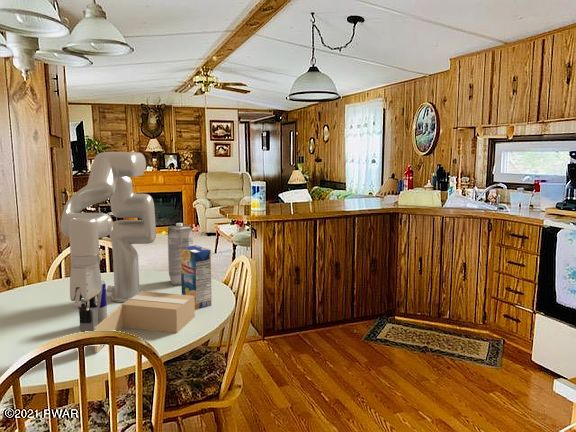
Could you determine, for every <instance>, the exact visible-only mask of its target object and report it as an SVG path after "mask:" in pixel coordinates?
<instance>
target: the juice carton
mask: <svg viewBox="0 0 576 432" xmlns="http://www.w3.org/2000/svg"><path fill="white" fill-rule="evenodd" d="M193 239H194V238H193V229H192V227H191V226H190V225H189V224H186V225H183V222H177V223H175V225H169V226H168V228H167V259H168V263H167V264H168V265H167V266H168V275H169V279H170V282H171V285H172V286H177V285H181V248H182V247H188V246H194V240H193Z"/></svg>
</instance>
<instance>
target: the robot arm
mask: <svg viewBox="0 0 576 432" xmlns="http://www.w3.org/2000/svg"><path fill="white" fill-rule="evenodd" d="M146 169H147V160H146V157H145V155H144V154H143V153H141V152H137V151H136V152H135V151H130V152H129V151H104V152H99V153H97V154H96V155H95V156H94V158H93V161H92V166H91V169H90V173H89V177H88V179H87V185H85V186H83V187H82V188H79V190H78V191H76V192H75V193H74V194H73V195H71V197H70V198H69V199H68V200H67V201H66V202H65V206H64V208H63V212H62V214H61V219H60V230H61V233H62V234H63V236H65V237H67V238H69V249H70V262H71V263H70V264H71V265H70V266H71V268H70V277H69V300H70V301H71V302H73V306H74V307H76V308H77V310H78V314H79V316H80V318H79V324H80V323H91V322H92V320H91V310H89V307H93V308H97V303H98V301H97V298H98V294H99V292H100V291H101V280H102V277H101V276H102V275H101V270H100V269H101V268H100V264H101V259H100V258H101V257H100V241H99V239H101V238H102V239H103V238H106V237H107V236H109V238H110V243H111V249H112V261H113V263H112V268H113V285H110V284H109V285H107V287H106V292H108V293H109V292H110V293H111V294H110V300H111V301H113V302H116V303H124V302H126V301H128V300H130V298H132V297H134V296H135V295H138V294H140V293H141V292H143V291H142V290H141V289H140V267H139V265H140V264H139V254H138V251H137V249H136V248H135V247H134V246H133V245H148V244H153V243H154V242H155V240H156V237H157V229H156V228H157V227H156V225H157V224H156V214H155V213H156V212H155V203H154V199H153V197H152V196H151V195H150V194H148V193H135V192H134V187H133V180H132V178H137V177H140V176H143V175H144V173H145V171H146ZM107 200H109V201H110V209H111V213H112V216H113V217H115V218H120V220H115V221H113V219H112V217H111V216H110V215H109V214H108V213H104V212H82V210H84V209H86V208H89V207H90V206H91V207H92V206H93V205H95V204H99V203H102V202H104V201H107ZM121 218H122V219H121ZM123 218H124V219H123ZM79 316H78V317H79Z"/></svg>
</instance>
